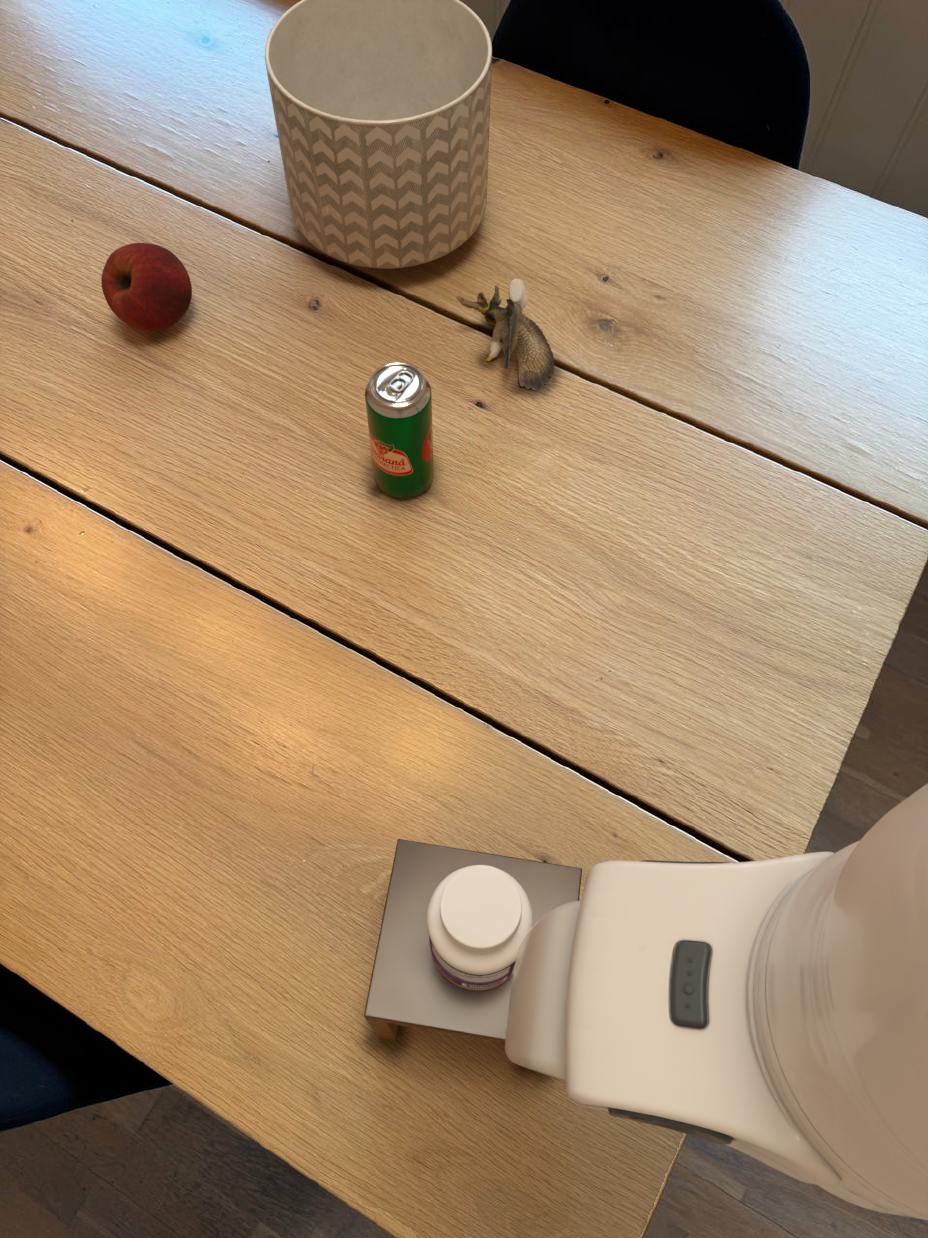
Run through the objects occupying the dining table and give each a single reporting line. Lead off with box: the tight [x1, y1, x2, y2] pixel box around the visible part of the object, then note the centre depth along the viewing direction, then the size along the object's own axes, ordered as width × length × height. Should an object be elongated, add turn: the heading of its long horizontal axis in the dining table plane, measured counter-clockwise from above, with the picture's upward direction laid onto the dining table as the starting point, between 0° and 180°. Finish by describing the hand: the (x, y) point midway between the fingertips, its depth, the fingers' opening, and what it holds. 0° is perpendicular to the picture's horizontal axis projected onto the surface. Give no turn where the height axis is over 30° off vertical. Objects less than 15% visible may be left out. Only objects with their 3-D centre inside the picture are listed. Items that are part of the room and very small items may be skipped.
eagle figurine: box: [456, 278, 555, 391], centre depth 91 cm, size 8×7×9 cm
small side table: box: [363, 838, 583, 1044], centre depth 63 cm, size 11×10×12 cm
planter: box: [264, 0, 493, 270], centre depth 93 cm, size 19×19×18 cm
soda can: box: [364, 361, 435, 499], centre depth 82 cm, size 5×5×12 cm
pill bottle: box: [427, 865, 532, 990], centre depth 53 cm, size 5×5×10 cm
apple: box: [101, 242, 193, 333], centre depth 91 cm, size 7×8×8 cm
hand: (760, 1063), depth 39 cm, fingers open, 8 cm apart
